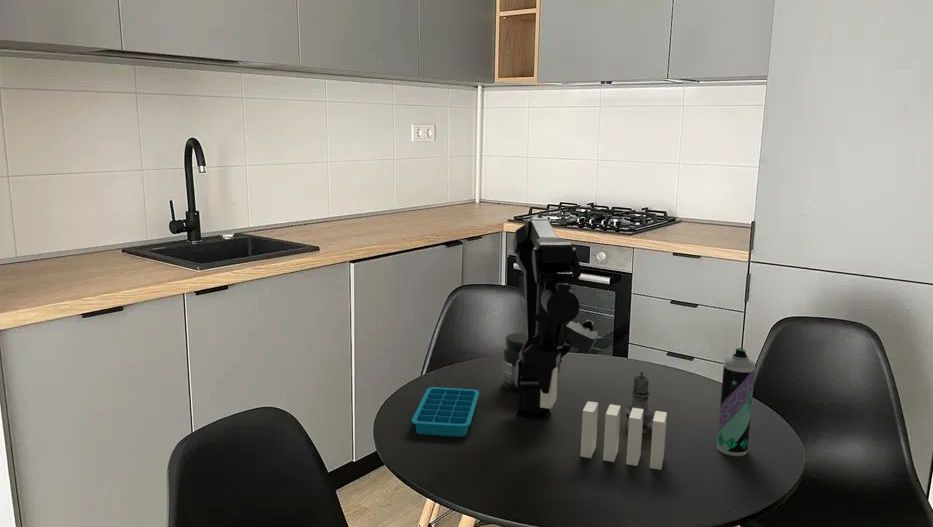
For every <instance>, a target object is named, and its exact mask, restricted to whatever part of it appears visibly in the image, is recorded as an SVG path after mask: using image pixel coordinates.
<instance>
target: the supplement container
mask: <svg viewBox="0 0 933 527" xmlns="http://www.w3.org/2000/svg"><path fill="white" fill-rule="evenodd" d="M525 342H526V332H513V333H509V334H508V335H506V336H505V341H504V346H505V347H504V348H503V351H502V358H503V359H502V379H501V380H502V382H501V383H502V385H503V387H504V388H505V389H506V390H508V391H511V392H512V393H518V394H519V388H517V387H516V384H515V381H514V370H515V366H516V362H517V360H519V352H520V351H521V349H522V347H523V345H524V343H525ZM520 378H522V377H520Z"/></svg>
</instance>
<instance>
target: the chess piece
mask: <svg viewBox="0 0 933 527" xmlns="http://www.w3.org/2000/svg"><path fill="white" fill-rule="evenodd" d="M631 395H632V401H631V402H632V403H631V405H630V406H627V407H625V408H624V412H625V416H626V419H627V420H628V421H629V416H630V414H631V411H632V408H639V409H644V411H643V426H642V434H647V433H650V432H651V431H652V428H653V427H652V425H650V424H649V423H650V422H651V421H652V419H653V417H654V415H655V411H654V410H653V409H652V408H650V407H649V396H650V395H651V394H650V392H649V378H648V377H647V376H645V375H644V372H643V371H640V373H639V374H638V375H636V376H635V377H634V379H633V390H632V391H631ZM624 427H625V429H626V430H628V427H629V422H628V423H626V424H625V426H624Z"/></svg>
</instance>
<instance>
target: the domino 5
mask: <svg viewBox="0 0 933 527" xmlns="http://www.w3.org/2000/svg"><path fill="white" fill-rule="evenodd" d="M667 415H668V413H667V412H666V411H660V410H659V411H658V410H655V411H654V415H653V418H652V419H653V420H652V427H651V428H652V430H651V431H652V432H651V444H650V446H651V448H650V460H649V461H650V462H649V469H653V470H654V469H655V470H660V471H661V470H662V469H663V463H664V460H665V459H664V458H665V444H666V432H667V431H666V429H667V417H668V416H667Z"/></svg>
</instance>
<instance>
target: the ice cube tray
mask: <svg viewBox="0 0 933 527" xmlns="http://www.w3.org/2000/svg"><path fill="white" fill-rule="evenodd" d="M479 396H480V391H479V389H473V388H472V389H469V388H455V387H454V388H453V387H441V386H440V387H437V386H430V387H429V388H427V389H426V390H425V393H424V395H423V396H422V399H421V401H420V403H419V405H418V406H417V409H416V411H415V412H414V414H413V417H412V418H411V423H412V424H414V425H415V429H416V430H415V431H416V433H417V434H419V435H431V436H444V437H459V438H460V437H466V435H467V433H468V431H469V427H470V426H471V422H472V419H473V416H474V413H475V410H476V406H477V402H478V401H479Z"/></svg>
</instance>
